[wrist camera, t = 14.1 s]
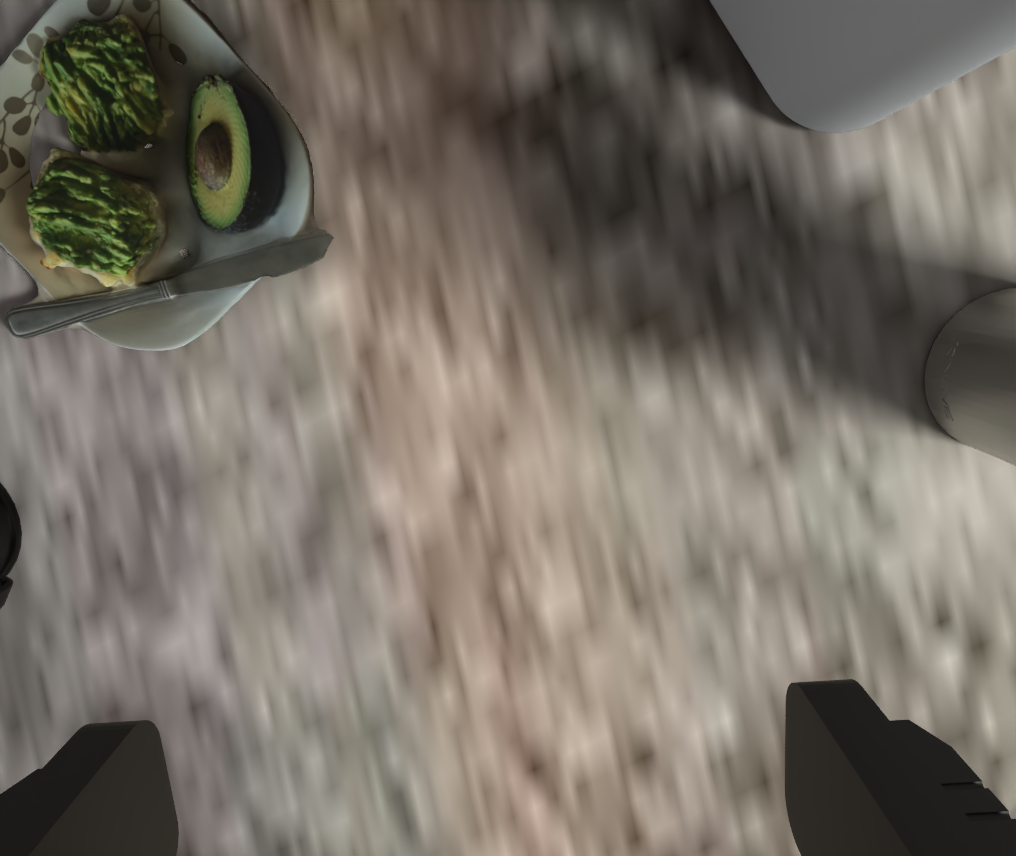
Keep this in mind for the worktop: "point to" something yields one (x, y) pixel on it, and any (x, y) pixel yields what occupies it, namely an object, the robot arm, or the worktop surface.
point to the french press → (8, 541)
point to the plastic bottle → (863, 52)
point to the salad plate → (147, 175)
